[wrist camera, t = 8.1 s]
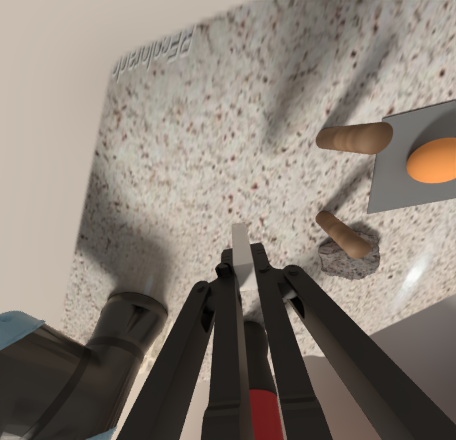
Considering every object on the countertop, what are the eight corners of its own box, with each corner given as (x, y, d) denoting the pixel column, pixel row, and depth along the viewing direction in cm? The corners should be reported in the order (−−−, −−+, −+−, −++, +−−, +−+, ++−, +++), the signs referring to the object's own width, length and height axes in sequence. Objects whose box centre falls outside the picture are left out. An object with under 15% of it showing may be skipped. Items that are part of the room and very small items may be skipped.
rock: (308, 249, 31) (318, 264, 28) (367, 221, 28) (387, 234, 25) (325, 277, 35) (336, 293, 31) (380, 254, 31) (399, 269, 28)
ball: (466, 174, 21) (405, 175, 25) (484, 128, 19) (414, 137, 23) (467, 190, 19) (399, 188, 23) (489, 139, 16) (408, 147, 20)
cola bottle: (229, 333, 45) (223, 625, 18) (240, 315, 41) (253, 650, 14) (258, 339, 46) (292, 625, 19) (271, 322, 42) (337, 649, 15)
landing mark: (366, 213, 27) (367, 214, 27) (382, 118, 21) (383, 118, 21) (463, 196, 25) (465, 196, 25) (510, 86, 19) (513, 86, 19)
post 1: (315, 150, 23) (359, 157, 15) (316, 130, 22) (363, 126, 14) (335, 146, 23) (390, 150, 15) (336, 125, 22) (396, 118, 14)
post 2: (315, 225, 29) (347, 259, 21) (315, 212, 28) (349, 243, 20) (331, 223, 28) (369, 256, 20) (331, 209, 27) (372, 239, 19)
